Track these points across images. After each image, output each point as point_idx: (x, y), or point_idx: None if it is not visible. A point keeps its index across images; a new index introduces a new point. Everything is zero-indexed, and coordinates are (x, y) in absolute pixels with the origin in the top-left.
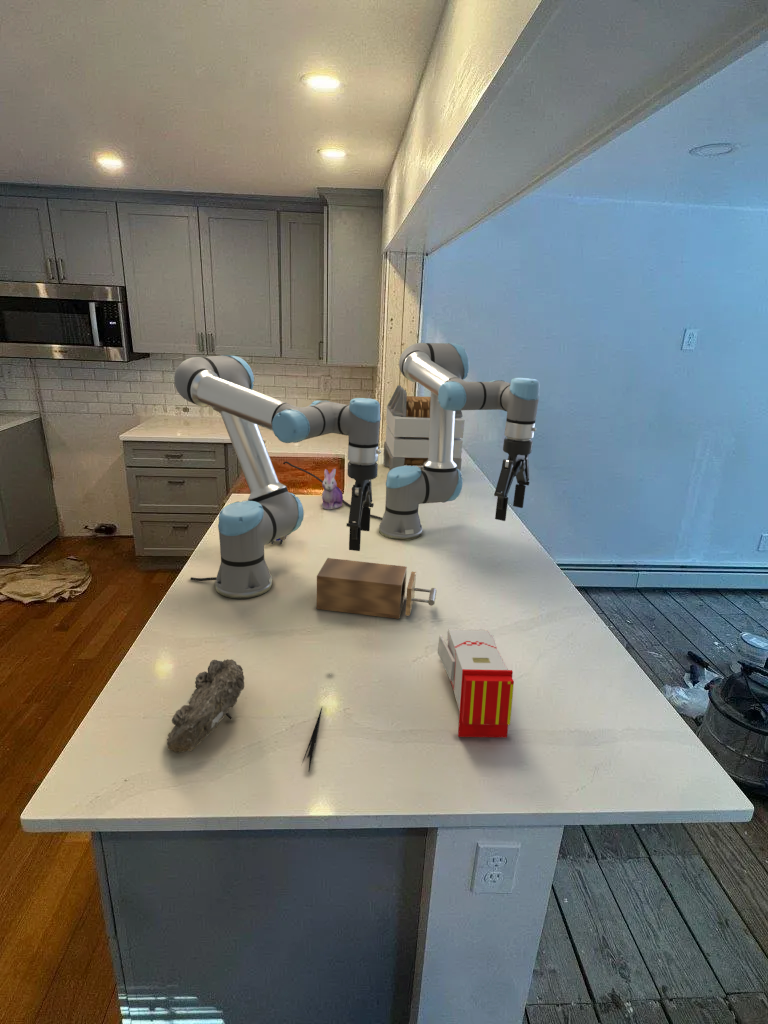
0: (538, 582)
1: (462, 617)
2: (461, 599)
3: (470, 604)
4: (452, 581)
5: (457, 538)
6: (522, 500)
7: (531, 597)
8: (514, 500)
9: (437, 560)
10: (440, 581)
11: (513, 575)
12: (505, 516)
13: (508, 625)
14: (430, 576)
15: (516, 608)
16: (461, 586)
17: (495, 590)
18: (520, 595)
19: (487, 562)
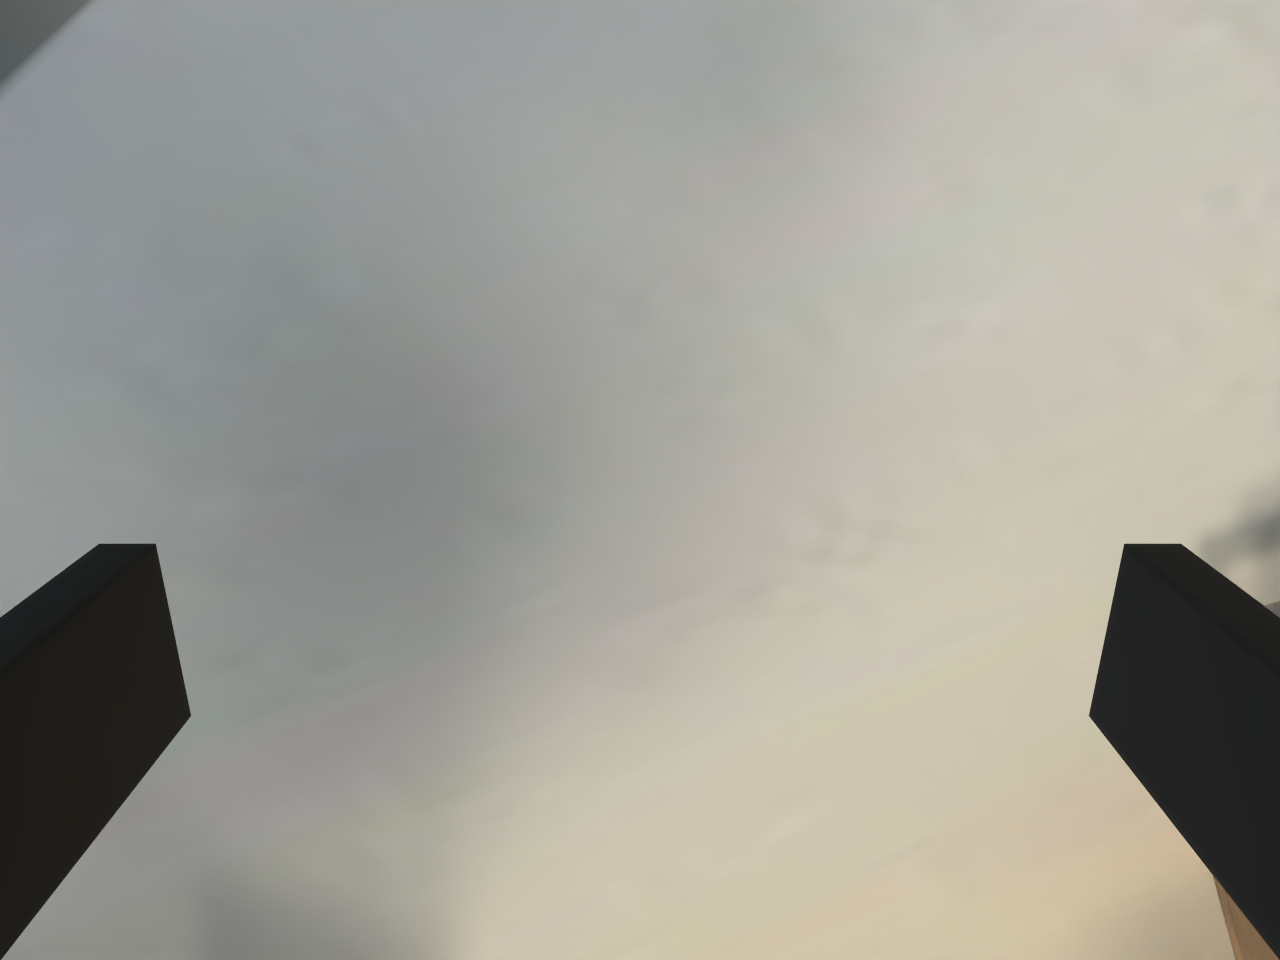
0: (372, 75)
1: (1260, 354)
2: (1011, 465)
3: (1052, 385)
4: (786, 620)
5: (105, 872)
6: (56, 642)
7: (683, 27)
8: (124, 785)
9: (546, 821)
10: (833, 678)
11: (396, 305)
12: (1208, 587)
13: (1236, 20)
14: (802, 754)
15: (938, 68)
16: (823, 543)
17: (739, 323)
18: (704, 123)
19: (323, 555)
